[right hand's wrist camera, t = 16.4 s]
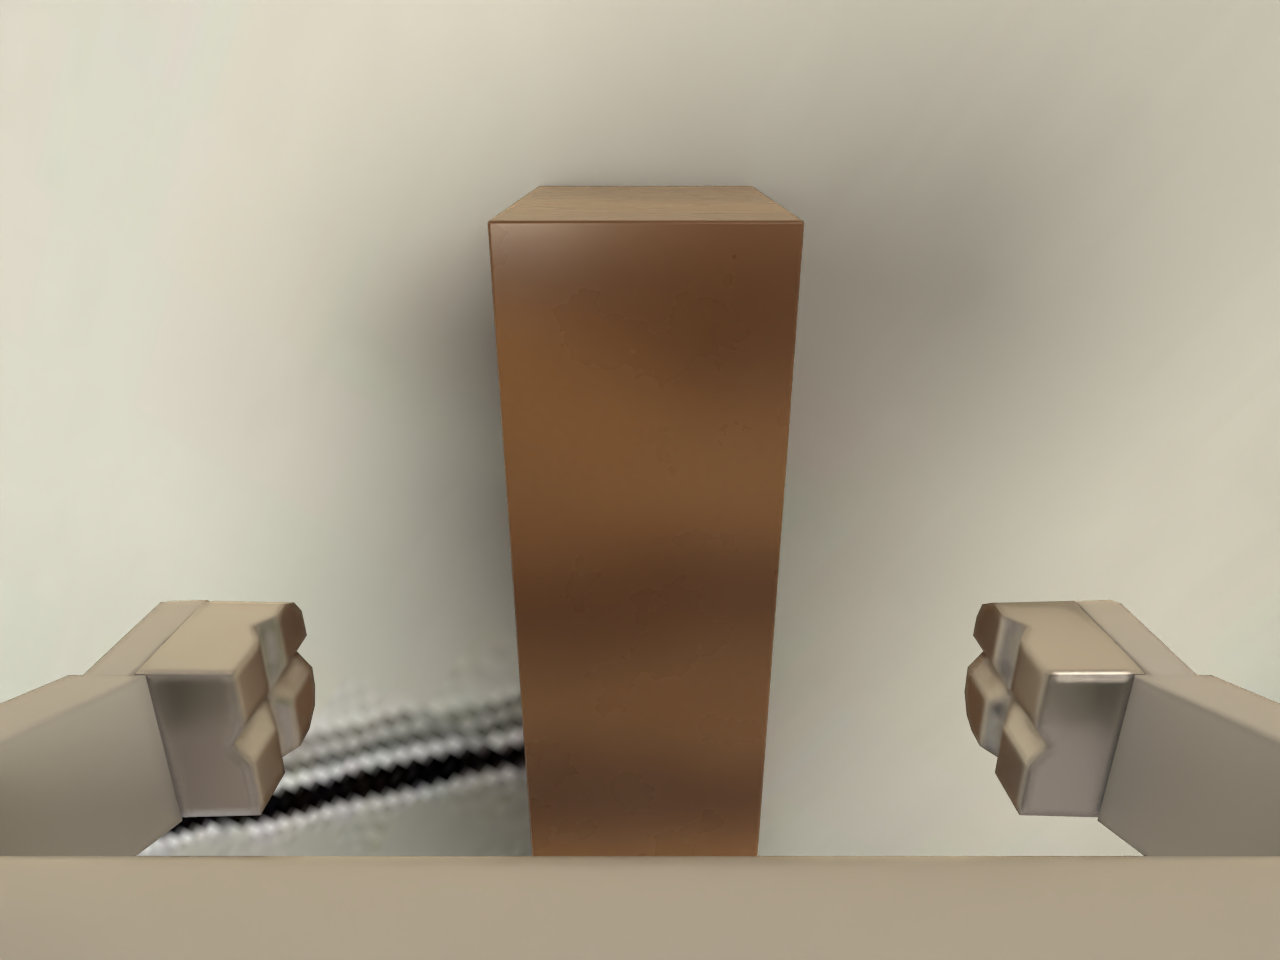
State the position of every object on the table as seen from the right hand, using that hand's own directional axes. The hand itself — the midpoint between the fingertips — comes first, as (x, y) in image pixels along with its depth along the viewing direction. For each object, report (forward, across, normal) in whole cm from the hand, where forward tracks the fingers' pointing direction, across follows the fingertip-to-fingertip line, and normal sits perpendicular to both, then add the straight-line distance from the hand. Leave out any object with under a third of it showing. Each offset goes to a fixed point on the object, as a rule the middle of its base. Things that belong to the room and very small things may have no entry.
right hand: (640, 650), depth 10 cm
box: (+18, 0, -9) cm, 21 cm away
